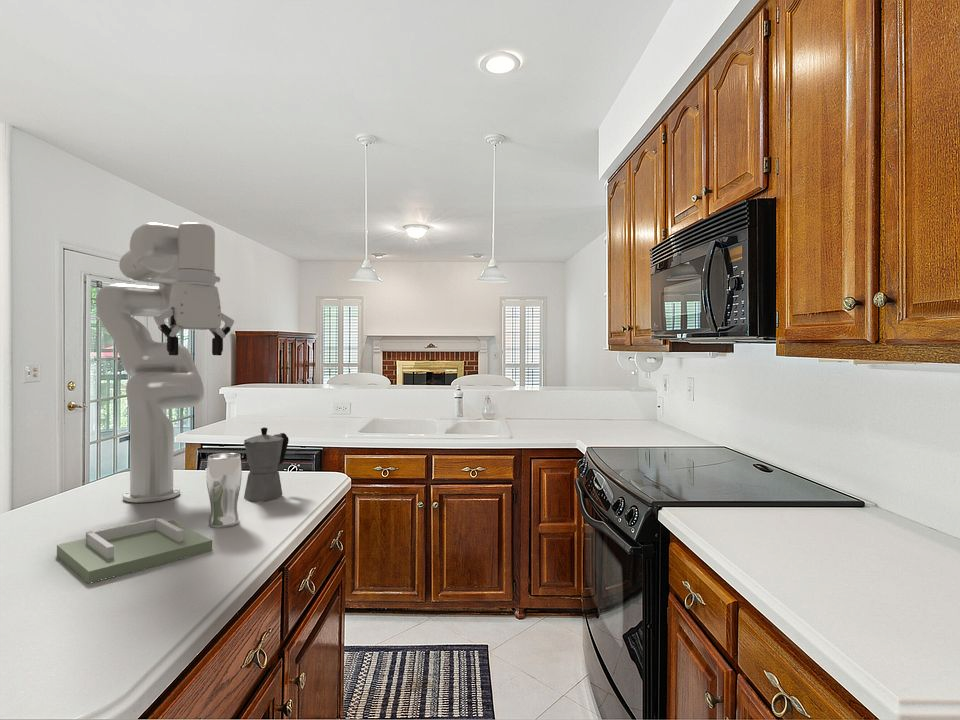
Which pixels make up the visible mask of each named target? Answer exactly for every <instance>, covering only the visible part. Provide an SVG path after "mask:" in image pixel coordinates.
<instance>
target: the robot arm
mask: <svg viewBox="0 0 960 720" xmlns="http://www.w3.org/2000/svg"><path fill="white" fill-rule="evenodd" d="M215 253H216V232H215V229H214V227H212V226H211V225H209V224H207V223H201V222H189V221H187V222H181V223H180V224H179V225H178V226H176V225H173V224H163V223H159V222H147V223H144V224H141V225H140V226H139V227H137V228H135V229H134V230H133V231H132V233H131V236H130V241H129V251H127V252H125V253H124V254H123V255H122V256H121V258H120V260H119V262H118V263H119V265H118V266H119V270H120V272H121V273H122V274H123V276H125V277H126V278H127V279H129V280H131V281H135V282H139V283H149V284H159V285H158V286H150V285H139V284H129V283H128V284H127V283H111V284H108V285H105V286H102V287H101V288H100V289H99V290H98V292H97V294H96V297H95V299H96V300H95V301H96V302H95V303H96V311H97V315H98V318H99V321H100V322H101V324H102V326H103V328H104V330H106V332H107V333H108V334H109V336H110V337H111V338H112V340H113V342H114V344H115V345H114V346H115V348H116V351H117V354H118V356H119V359H120V361H121V363H122V366H123V369H124V371H125V372H126V374H127V375H128V376H129V377H130V378H129V379H128V381H127V383H126V386H125V394H126V400H127V405H128V411H129V425H130V427H129V429H130V430H129V431H130V432H129V433H130V434H129V435H130V440H129V441H130V442H129V443H130V445H129V446H130V448H129V451H130V452H129V456H130V457H129V458H130V461H129V462H130V463H129V465H130V468H129V470H130V472H129V473H130V474H129V475H130V476H129V480H130V481H129V482H130V483H129V489H130V490H128V491H125V492H124V493H123V494H122V500H123V501H124V502H128V503H138V504H139V503H141V504H142V503H153V502H155V503H156V502H160V501H165V500H170V499H173V498H176V497H177V496H179V495H180V493H181V488H179V487H177V486H174V453H175V452H174V445H175V444H174V442H175V440H174V439H175V437H174V436H175V435H174V431H175V430H174V429H175V428H174V425H173V422H172V421H171V420H170V418H169V417H168V416H167V415H166V414H165V413H164V410H171V409H172V410H173V409H184V408H193V407H195V406H198V405H199V404H200V403H201V402H202V401H203V399H204V394H205V388H204V383H203V381H202V378H201V376H200V373H199V371H198V369H197V365H196V364H195V361H194V359H193V356H192V354H191V352H190V351H189V349H188V348H187V347H186V346H184V345H183V344H181V343H179V337H178V336H177V335H178V333H179V332H180V331H182V330H204V331H206V330H209V332H210V333H211V334H212V335H213V336H214V337H212V339H211V355H212V356H222V354H223V352H224V339H225V338H226V336H227V335H228V333H230V332H231V329H232V327H233V325H234V323H235V320H234V319H233V318H232V317H229V316H228V315H226V314H224V313H222V307H221V299H220V293H219V289H218V286H215V285H216V283H220V282H221V277H220V276H217V275H216V271H215V269H216V266H215V265H216V258H215V256H216V254H215ZM134 317H147V318H148V317H149V318H153V320H154V322H155V323H156V325H157V328H158V329H159V330H160V332H162V333H163V335H164V337H166V342H162V341H155V340H154V339H153V337H152V335H151V333H150V331H149V329H148V328H147V327H146V326H145V325H144V324H143V323H142V322H140V321H139V320H138V319H135V318H134ZM165 319H168V320H167V323H168V325H167V324H166V322H165ZM222 322H224V325H223V327H222V328H221V326H222Z"/></svg>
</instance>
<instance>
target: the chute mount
mask: <svg viewBox="0 0 960 720" xmlns="http://www.w3.org/2000/svg"><path fill="white" fill-rule="evenodd" d="M212 551H213V539H211V538H210V537H209V538H208V537H207V536H205V535H203V534H201V533H199V532H197V531H195V530H193V529H191V528H189V527H187V526H186V525H183V524H181V523H179V522H177V521H175V520H173V519H172V520H167V521H166V520H165V519H163V518H161V517H159V516H158V517H153V518H149V519H144V520H140V521H135V522H130V523H125V524H121V525H116V526H111V527H106V528H101V529H96V530H91V531H87V532H85V538H84V539H83V538H82V539H79V540H73V541H69V542H68V541H67V542H65V543H59V544H56V556H57V557H58V558H59V559H60V560H61V561H62V562H64V564H66V566H68V567H69V568H70V567H71V568H72V569H71V568H70V569H71V570H72V571H73V572H75V573H76V574H77V575H78V574H79V575H80V578H81V579H83V580H84V579H85V580H86V581H87V582H86V581H85V580H84V581H85V582H86V583H88V584H89V583H90V584H92V583H91V582H93V583H96V582H95V581H97V582H99V581H98V580H101V579H105V578H108V579H110V578H109V577H112V578H114V577H113V576H116V577H118V576H117V575H120V576H122V574H123V575H126V574H125V573H127V574H129V572H131V573H133V571H134V572H138V571H141V569H142V570H145V569H144V568H146V569H149V568H152V567H151V566H153V567H156V566H160V564H161V565H164V564H167V562H168V563H171V561H172V562H175V561H178V560H177V559H179V560H182V559H181V558H183V559H186V558H185V557H187V558H190V557H194V556H196V555H197V554H198V555H201V554H205V553H208V552H212ZM204 552H205V553H204ZM193 555H194V556H193ZM189 556H190V557H189ZM174 560H175V561H174ZM148 567H149V568H148ZM137 570H138V571H137ZM79 575H78V576H79ZM105 580H106V579H105ZM101 581H102V580H101Z"/></svg>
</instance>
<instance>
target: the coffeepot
mask: <svg viewBox="0 0 960 720" xmlns="http://www.w3.org/2000/svg"><path fill="white" fill-rule="evenodd" d="M260 432H261V434H259V435H254V436H252V437H248V438H246V439H244V440H243V446H244V447H245V454H246V460H247V461H246V463H247V466H248V467H249V473H247V474H248V475H247V479H246V485H245V490H244V496H243V498H244V499H245V500H246V501H248V502H254V501H255V503H256V502H257V503H259V502H260V501H263V502H270V500H271V501H275V500H277V499H280V498H281V497H282V495H283V489H282V483H281V478H280V472H279V470H278V466H279V465H282V464H283V463H284V460H285V457H286V453H287V449H288V444H289V442H290V441H289V437H288V435H287V434H286V433H284V432H281V433H276V434H273V435H272V434H268V427H261V428H260ZM274 499H275V500H274ZM258 501H259V502H258ZM260 503H261V502H260Z"/></svg>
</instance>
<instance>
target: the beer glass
mask: <svg viewBox="0 0 960 720" xmlns="http://www.w3.org/2000/svg"><path fill="white" fill-rule="evenodd" d="M241 457H242V456H241V454H240V453H237V452H221V453H220V452H219V453H213V454H209V455H208V456H207V464H206V487H207V493H208V497H209V498H208V499H209V504H210V512H209V513H210V514H209V519H208V527H210V528H214V529H224V528H231V527H234V526H236V525H238V524H239V522H240V518H239V514H238V500H239V496H240V495H239V494H240V490H241V483H242V473H243V471H242V469H243V468H242V458H241Z"/></svg>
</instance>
